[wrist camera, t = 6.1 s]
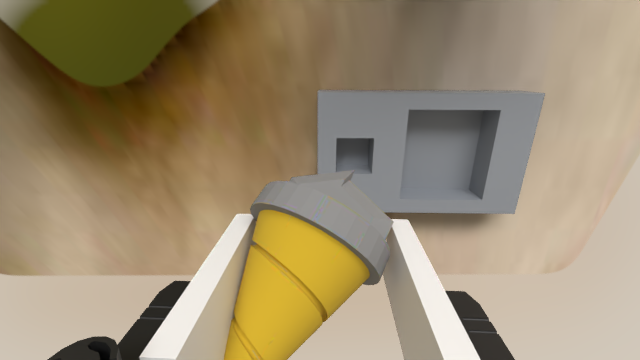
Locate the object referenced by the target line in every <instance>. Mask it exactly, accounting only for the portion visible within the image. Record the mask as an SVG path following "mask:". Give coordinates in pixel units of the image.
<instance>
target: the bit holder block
mask: <svg viewBox="0 0 640 360" xmlns="http://www.w3.org/2000/svg"><path fill="white" fill-rule="evenodd" d="M544 96H545V93H536V92H526V91H442V90H318V174H326V173H334V172H343V171H352V170H355V171H354V173H353V176H352V178H351V182H352V183H353V184H354V185H355V186H356V187H357V188H358V189H359V190H360V191H361V192H362V193H363V194H365V195H366V196H367V197H368V198H369V199H370V200H371V201H372V202H373V203H374V204H375V205H376V206H377V207H378V208H380V209H381V210H382V211H383V212H400V213H490V214H515V210H516V206H517V202H518V198H519V194H520V190H521V186H522V182H523V178H524V174H525V170H526V166H527V163H528V159H529V155H530V151H531V147H532V143H533V139H534V135H535V131H536V127H537V123H538V119H539V115H540V111H541V108H542V104H543V100H544Z"/></svg>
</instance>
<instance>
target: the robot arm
mask: <svg viewBox="0 0 640 360" xmlns="http://www.w3.org/2000/svg"><path fill="white" fill-rule="evenodd" d="M391 220H392V221H393V225H392V227H391V229H390V232H389V234H388V236H387V244H388V246H389V248H390V257H389V260H388V262H387V264H386V267H385V269H384V273H383V276H384V280H385V284H386V288H387V292H388V296H389V300H390V304H391V308H392V312H393V316H394V320H395V324H396V328H397V332H398V336H399V340H400V344H401V348H402V352H403V356H404V360H515V359H514V358H513V356H512V354H511V353H510V351H509V350H508V348H507V347H506V345H505V344H504V342H503V340H502V339H501V337H500V336H499V334H497V331H496V329H495V328H494V326H493V325H492V323H491V322H489V319H488V317H487V315H486V314H485V312H484V311H483V309H482V307H481V306H480V304H479V303H478V302H476V301H475V300H474V299H473V298H472V297H471V296H469V295H468V294H467V293H466V292H461V291H445V290H444V288H443V286H442V284H441V282H440V280H439V278H438V277H437V274H436V273H435V271H434V269H433V267H432V265H431V263H430V261H429V259H428V257H427V255H426V253H425V251H424V249H423V247H422V245H421V244H420V242H419V240H418V238H417V236H416V234H415V232H414V230H413V228H412V226H411V224H410V222H409V220H406V219H391ZM255 226H256V220H255V219H254V217H253V216H252V214H237V215H236V216H235V218H234V219H233V221H232V222H231V223H230V225H229V226H228V228H227V229H226V231H225V232H224V234H223V235H222V237H221V238H220V240H219V241H218V242H217V244H216V245H215V247H214V248H213V250H212V251H211V253H210V254H209V256H208V257H207V259H206V260H205V261H204V263H203V264H202V266H201V267H200V269H199V270H198V272H197V273H196V275H195V276H194V278H193V279H192V281H174V282H173V283H171V284H170V285H168V286H167V287H166V288H164V289H163V290H161V291H160V292H159V293H158V294H157V296H156V297H155V298H154V300H153V301H152V302H151V303H150V305H149V308H146V310H145V311H144V312H143V313H142V315H141V316H140V319H138V320H137V321H136V322H135V323H134V325H133V326H132V327H131V328H130V330H129V331H128V332H127V334H126V335H125V336H124V337H123V339H122V340H121V341H120V342H119V344H118V345H117V344H116V342H115V340H113V339H111V338H108V337H91V338H87V339H84V340H80V341H77V342H75V343H73V344H71V345H69V346H67V347H65V348H63V349H62V350H60V351H59V352H57V353H56V354H55V355H53V356H52V357H51V358H49V359H48V360H224V355H225V350H226V344H227V339H228V334H229V329H230V325H231V320H232V319H233V318H234V317H235V315H234V308H235V304H236V300H237V296H238V292H239V289H240V285H241V281H242V277H243V273H244V269H245V265H246V261H247V257H248V253H249V250H250V246H251V245H253V246H254V245H256V244H257V243H255V242H254V241H253V240H252V238H253V234H254V230H255Z"/></svg>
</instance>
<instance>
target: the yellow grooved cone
mask: <svg viewBox="0 0 640 360" xmlns="http://www.w3.org/2000/svg"><path fill="white" fill-rule="evenodd" d="M354 171H355V170H352V171H343V172H334V173H326V174H317V175H308V176H299V177H292V178H291V180H290V181H289V182H288V181H274V182H270V183H269V184H267V185H266V186H265V187H264V189H263V190H262V192H261V193H260V194H259V196H258V197H257V199H256V200H255V201H254V203H253V204H252V206H251V208H250V210H251V214H252V216H253V217H254V219H255V220H256V226H255V230H254V234H253V238H252V240H253V241H254V242H255V243H257V244H256V245H254V246H253V245H251V246H250V250H249V253H248V257H247V261H246V265H245V269H244V273H243V277H242V281H241V285H240V289H239V292H238V296H237V300H236V304H235V308H234V315H235V317H234V318H233V319H232V320H231V325H230V329H229V334H228V339H227V344H226V350H225V355H224V360H287V359H288V358H289V357H290V356H291V355H292V354H293V353H294V352H295V351H296V350H297V349H298V348H299V347H300V346H301V345H302V344H303V343H304V342H305V341H306V340H307V339H308V338H309V337H310V336H311V335H312V334H313V333H314V332H315V331H316V330H317V329H318V328H319V327H320V326H321V325H322V323H323V322H324V321H326V320H327V319H328V318H329V317H330V316H331V315H332V314H333V313H334V312H335V311H336V310H337V309H338V308H339V307H340V306H341V305H342V304H343V303H344V302H345V301H346V300H347V299H348V298H349V297H350V296H351V295H352V294H353V293H354V292H355V291H356V290H357V289H358V288H359V287H360V286H361V285H362V284H365V285H374V284H377V283H378V282H379V281H380V278H381V276H382V274H383V271H384V269H385V267H386V264H387V262H388V260H389V257H390V248H389V246H388V244H387V242H386V238H387V236H388V234H389V232H390V229H391V227H392V225H393V221H392V220H391V219H390V218H389V217H388V216H387V215H386V214H385V213H384V212H383V211H382V210H381V209H380V208H378V207H377V206H376V205H375V204H374V203H373V202H372V201H371V200H370V199H369V198H368V197H367V196H366V195H365V194H363V193H362V192H361V191H360V190H359V189H358V188H357V187H356V186H355V185H354V184H353V183H352V182H351V178H352V176H353V173H354Z"/></svg>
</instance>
